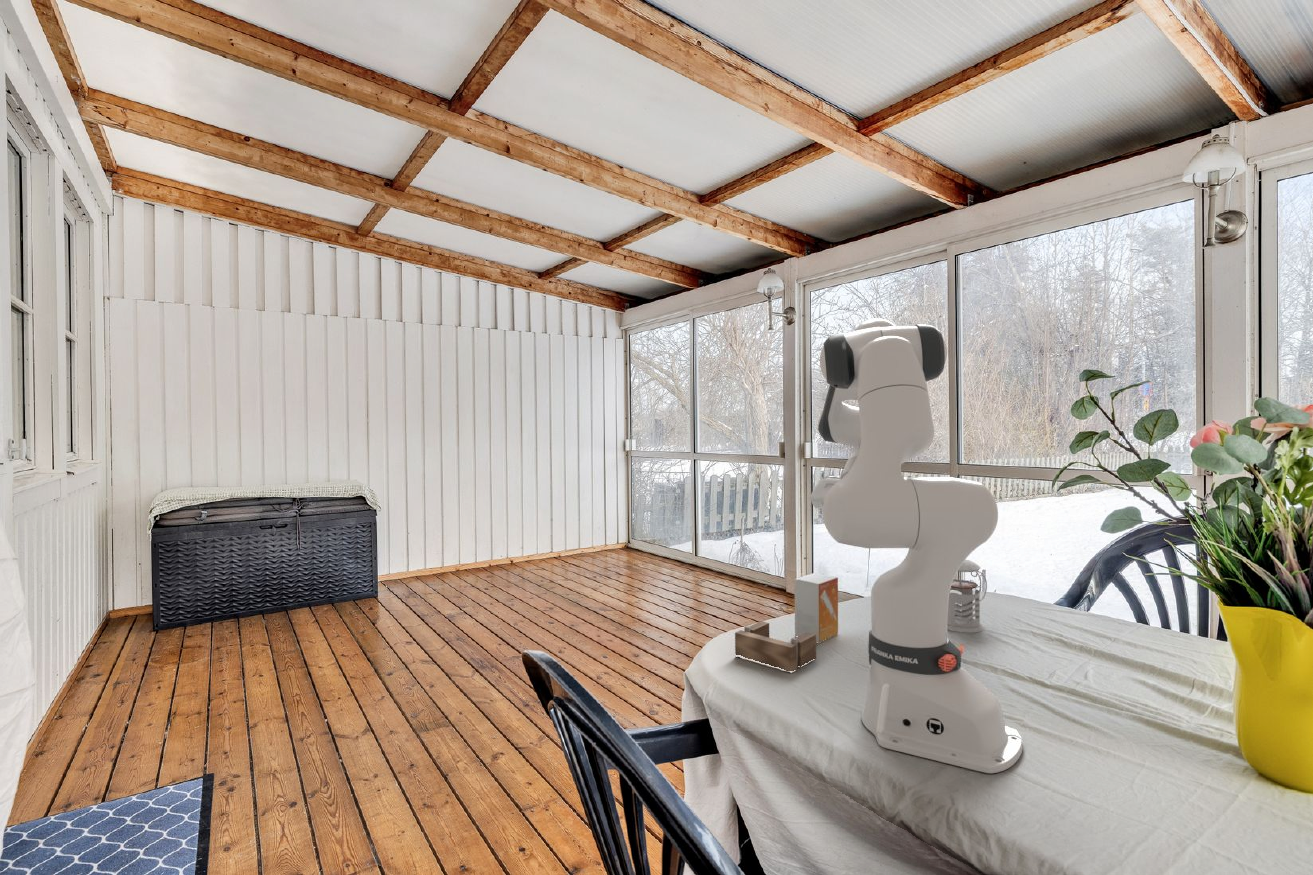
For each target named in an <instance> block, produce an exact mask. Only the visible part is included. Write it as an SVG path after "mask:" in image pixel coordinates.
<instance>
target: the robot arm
mask: <svg viewBox="0 0 1313 875" xmlns="http://www.w3.org/2000/svg"><path fill="white" fill-rule="evenodd" d="M819 354H820V356H819V367H820V370H821V374H822V375H823V378H824V379H825V380H826V384H828V385H829V386H828V390H827V394H826V398H825V400H824V401H825V402H824V405H823V409H822V411H821V413H820V415H819V419H818V421H817V422H818V424H817V432H818V433H819V435H820V437H821V438H822V439H823V440H824V441H825V442H828V443H834V444H841V445H845V446H849V447H852V448H851V455H850V457H849V458H848V459H847V461H846V463H845V465H844V467H843V470H842V473H841V475H840V476H839V475H838V476H833V475H826V476H824V477H822V478H820V479H819V480H818V482H817V484H816V485H815V487H814V488H813V490H812V492H811V494H810V496H809V500H810V502H811V504H812V505H813V507H814V508H815V509H818V510H819V509H820V510H822V520H823V523H824V527H825V529H826V530H827V532H828V534H829V535H830V536H831V537H832V539H833V540H835V542H836V543H838V544H843V545H847V546H852V547H857V548H858V547H859V548H863V549H908V552H907V554H906V556H905V558H904V559H903V560H902V561H901V563H900V564H898V565H896V566H895V567H894V568H891V569H890V570H887V571H885V572H884V573H882V574H881V575H880V576H879V577H878V578H876V580H875V581H874V583H873V585H872V587H871V592H870V593H871V594H870V596H871V597H870V598H871V599H870V600H871V605H870V606H871V612H870V613H871V630H870V631H869V632H868V648H867V650H868V652H867V653H868V663H869V665H870V672H869V681H868V688H867V696H866V699H865V704H864V708H863V710H862V714H861V721H862V723H863V725H864V727H865V728H866V729H867V730H869V731H870V733H872V734H873V735H874V736H875V739H876V743H877V745H879V746H880V747H882V748H883V749H887V750H892V751H897V752H900V753H905V754H908V755H913V756H916V757H921V758H925V759H928V760H931V761H932V760H933V761H936V762H940V763H944V764H949V765H953V766H957V767H961V768H963V769H969V770H971V771H972V770H973V771H976V772H982V773H986V774H994V773H995V774H996V773H1000V772H1003V771H1005V770H1007V769H1010V768H1011V767H1012V766H1014V765H1015V763H1017V762H1018V760H1019V759H1020V757H1021V755H1022V752H1023V749H1024V748H1023V747H1024V746H1023V740H1022V739H1023V738H1022V736H1021V735H1020V732H1018V731H1017V729H1014V728H1011V727H1009V726H1006V723H1005V716H1004V712H1003V708H1002V705H1001V702H1000V701H999V698H997V696H996V695H995V694H993V693H992V692H991V691H990V690H989V689H988V688H986V687H985V685H983V684H982V683H980V681H978V680H977V679H976V678H975V677H974V676H972V674H970V673H969V672H968V671H967V670H966V669H965V668H964V667H962V655H963V654H964V644H962V645H960V646H959V647H956V645H955V644H954V643H953V642H952V641H951V639H950V638H949V637H948V629H947V620H948V604H949V594H950V593H951V590H950V589H951V585H952V582H953V580H954V579H955V577H956V575H957V573H958V572H957V571H958V569H959V568H960V566H961V564H962V563H963V562H964V560H967V558H968V557H969V556H970V555H971V554H972V553H973V552H974V551H976V549H978V547H980V546H981V545H982V544H985V543H986V542H987V541H988V540H989V539H990V538H991V536H992V535H993V534H994V532H995V530H996V528H997V525H998V520H999V510H998V505H997V502H996V500H995V497H994V495H993V493H992V492H991V491H990V490H989V489H988V487H987V486H986V485H985V484H983V483H982V482H979V481H975V480H970V479H969V480H968V479H963V478H957V477H953V476H936V477H934V476H931V477H930V476H928V477H927V476H926V477H925V476H923V477H917V476H916V477H913V476H912V477H909V476H903V474H902V465H903V464H904V463H906V462H908V461H910V460H912V459H914V458H916V457H917V456H920V455H921V454H922V453H925V451H926V450H928V448H929V447H930V446H931V444H932V442H933V439H934V436H935V430H934V422H933V416H932V409H931V403H930V396H929V390H928V385H927V382H930V381H933V380H935V379H938V378H939V377H940V375H942V373H943V372H944V369H945V365H946V362H947V357H948V348H947V343H946V341H945V338H944V337H943V335H942V332H941V330H939V329H938V328H937V327H935V325H930V324H915V325H914V326H912V325H901V326H900V325H899V326H897V325H895V324H894V323H893V322H891V321H889V320H887V319H883V318H872V319H870V318H869V319H868V320H864V321H862V323H860V324H858V326H857V327H856V328H855V329H854V330H853V331H850V332H847V333H844V332H843V331H842V332H840V333H839V332H838V333H836V334H833V335H830V336H828V337H827V339H825V341H824V342H823V346H822V348H821V351H820V353H819ZM844 401H857V403H858V407H857V406H853V405H849V404H846V403H844Z"/></svg>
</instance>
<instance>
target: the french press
mask: <svg viewBox="0 0 1313 875" xmlns="http://www.w3.org/2000/svg"><path fill="white" fill-rule="evenodd" d="M980 569H981V566H980V565H979V564H977V563H976V562H973V561H972V560H968V559H965V560H964V562H963V563H962V564H961V566H960V568H959V569H958V571H957V573H958V572H959V578H957V579H956V578H954V580H953V582H952V585H951V589H950V591H957V592H960V593H961V594H959V593H957V592H950V594H949V604H948V620H947V631H948V630H949V631H952V632H958V633H970V634H971V633H979V632H983V631H984V630H985V628H986V627H985V626H984V625H983V624H982V623H981V620H980V618H981V617H980V616H981V614H980V613H981V612H980V611H981V608H980V607H981V606H980V605H981V604H980V602H982V601H983V600H984V599H985V596H986V593H987V590H988V582H987V581H988V580H987V579H986V575H984V573H983V572H981V571H980ZM974 572H975V575H973V573H974ZM962 573H970V576H972V577H974V578H977V577H978V580H979V584H978V583H977V582H974V581H972V580H964V579H962ZM980 574H981V575H982V577H983V579H984V583H985V588H984V590H985V591H984V593H983V595H982V598H980V592H981V590H982V579H981V575H980ZM978 586H979V589H976V588H978ZM973 593H974V594H973ZM973 607H974V608H973Z"/></svg>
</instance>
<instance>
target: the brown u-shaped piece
mask: <svg viewBox="0 0 1313 875" xmlns="http://www.w3.org/2000/svg"><path fill="white" fill-rule="evenodd" d="M734 647H735V648H734V653H735V654H736V655H741V656H743V657H745V658H748V659H753V660H755V661H759V662H761V663H765V664H769V665H771V666H774V667H779V668H781V669H784V670H786V671H794V670H796V669H797V670H798V668H799V667H798V666H800V667H801V666H802V665H804V664H805V663H808V662H809V661H811V660H813V659H815V660H817V643H816V634H812V633H808V632H807V633H805V634H803V635H801V636H799V637H792V638H791V639H790V642H787V641H784V640H779V639H776V638H771V637H770V623H769V622H766V621H761V620H760V621H759V622H756V623H754V624H752V625H747V626H746V625H745V626H744V630H738V631H736V632H735V633H734ZM735 654H734V655H735ZM797 667H798V668H797Z"/></svg>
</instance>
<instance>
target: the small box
mask: <svg viewBox="0 0 1313 875" xmlns="http://www.w3.org/2000/svg"><path fill="white" fill-rule="evenodd" d="M838 578H839V577H837V576H832V575H827V574H824V573H817V572H813V573H810V574H807V575H802V576H801V577H798V578H795V579H794V637H795V636H798V637H799V636H801V635H803V634H805V633H807V632H808V633H812V634H816V642H818V643H817V644H821V643H823V642H824V641H823V640H825V639H827V640H829V639H831V638H833V637H835V635H836V636H838V635H839V579H838ZM837 634H838V635H837ZM832 636H833V637H832ZM830 637H831V638H830ZM828 638H829V639H828ZM822 641H823V642H822ZM825 641H826V640H825ZM820 642H821V643H820Z"/></svg>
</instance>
